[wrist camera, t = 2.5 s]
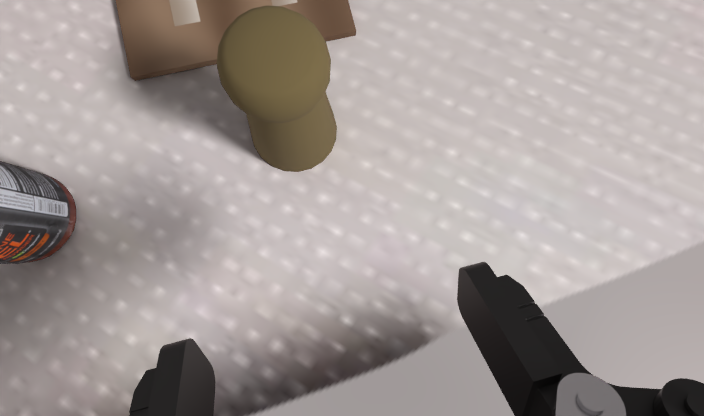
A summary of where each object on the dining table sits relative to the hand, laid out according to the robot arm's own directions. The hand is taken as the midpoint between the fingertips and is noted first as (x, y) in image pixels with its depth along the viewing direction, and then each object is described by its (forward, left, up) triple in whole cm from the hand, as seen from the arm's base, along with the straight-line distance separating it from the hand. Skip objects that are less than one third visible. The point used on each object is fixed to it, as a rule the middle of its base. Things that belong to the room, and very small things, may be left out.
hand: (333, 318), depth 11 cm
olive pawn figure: (0, -11, -15) cm, 18 cm away
